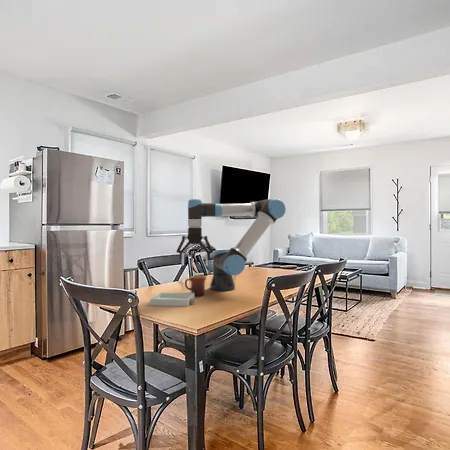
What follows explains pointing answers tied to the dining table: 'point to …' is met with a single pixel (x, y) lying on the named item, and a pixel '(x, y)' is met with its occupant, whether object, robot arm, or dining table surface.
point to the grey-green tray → (173, 299)
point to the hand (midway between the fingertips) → (194, 265)
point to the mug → (196, 285)
